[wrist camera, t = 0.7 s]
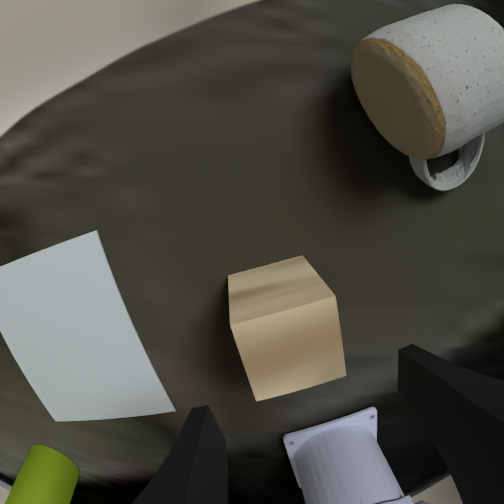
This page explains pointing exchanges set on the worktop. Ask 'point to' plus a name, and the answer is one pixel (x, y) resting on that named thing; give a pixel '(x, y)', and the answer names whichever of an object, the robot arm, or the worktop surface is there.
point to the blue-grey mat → (77, 335)
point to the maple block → (285, 327)
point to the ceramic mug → (434, 86)
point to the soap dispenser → (44, 478)
